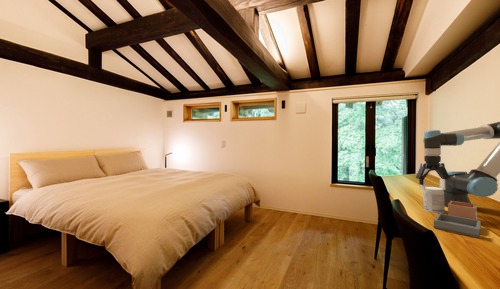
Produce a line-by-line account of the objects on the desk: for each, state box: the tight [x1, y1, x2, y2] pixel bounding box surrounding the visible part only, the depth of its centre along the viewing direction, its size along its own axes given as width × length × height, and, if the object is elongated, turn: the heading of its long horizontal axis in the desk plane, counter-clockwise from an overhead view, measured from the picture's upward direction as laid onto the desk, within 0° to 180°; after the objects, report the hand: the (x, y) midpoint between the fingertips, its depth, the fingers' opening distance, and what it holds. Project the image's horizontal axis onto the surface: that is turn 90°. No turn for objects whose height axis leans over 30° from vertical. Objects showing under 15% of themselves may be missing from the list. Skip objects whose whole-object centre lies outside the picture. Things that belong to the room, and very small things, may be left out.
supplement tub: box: [422, 186, 446, 214], centre depth 124 cm, size 10×10×15 cm
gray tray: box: [433, 213, 482, 239], centre depth 100 cm, size 15×15×4 cm
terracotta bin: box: [447, 201, 478, 220], centre depth 109 cm, size 10×10×9 cm
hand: (432, 189), depth 124 cm, fingers open, 13 cm apart
